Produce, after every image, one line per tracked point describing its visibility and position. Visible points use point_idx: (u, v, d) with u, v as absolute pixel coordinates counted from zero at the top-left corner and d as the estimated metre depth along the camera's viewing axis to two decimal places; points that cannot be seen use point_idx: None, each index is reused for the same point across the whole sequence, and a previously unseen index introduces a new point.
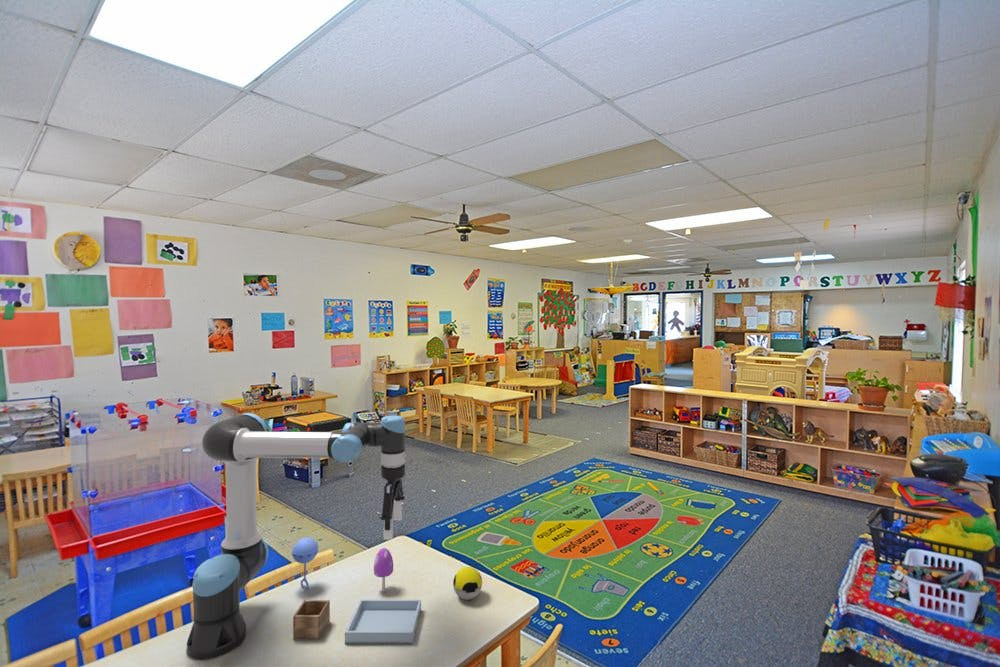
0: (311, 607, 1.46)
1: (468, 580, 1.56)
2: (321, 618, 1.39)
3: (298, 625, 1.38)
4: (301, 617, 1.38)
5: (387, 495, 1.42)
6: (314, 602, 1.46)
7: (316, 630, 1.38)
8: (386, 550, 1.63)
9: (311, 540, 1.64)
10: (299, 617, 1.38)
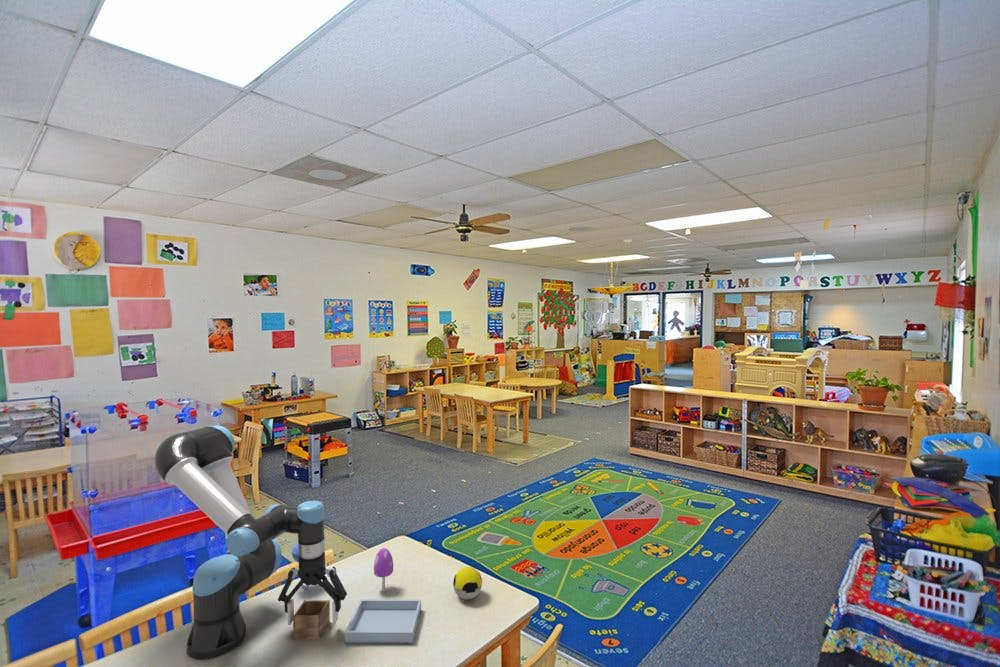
0: (311, 607, 1.46)
1: (468, 580, 1.56)
2: (321, 618, 1.39)
3: (298, 625, 1.38)
4: (301, 617, 1.38)
5: None
6: (314, 602, 1.46)
7: (316, 630, 1.38)
8: (386, 550, 1.63)
9: None
10: (299, 617, 1.38)
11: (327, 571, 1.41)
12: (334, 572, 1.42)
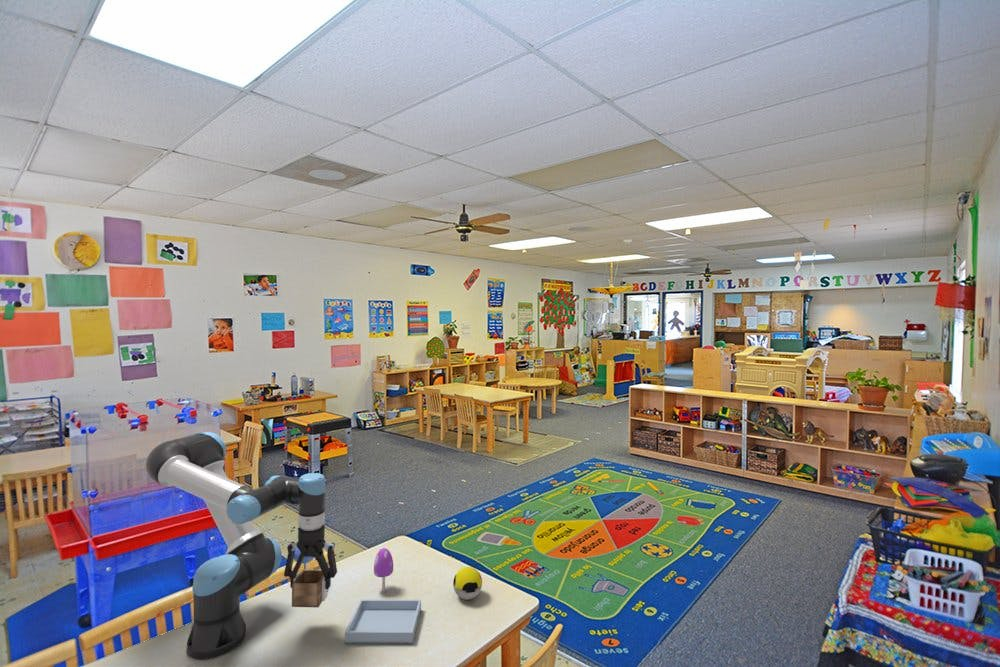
0: (310, 576, 1.46)
1: (468, 580, 1.56)
2: (320, 587, 1.39)
3: (297, 593, 1.38)
4: (300, 584, 1.38)
5: None
6: (313, 572, 1.45)
7: (314, 598, 1.38)
8: (386, 550, 1.63)
9: None
10: (298, 585, 1.38)
11: (326, 545, 1.41)
12: (332, 548, 1.42)
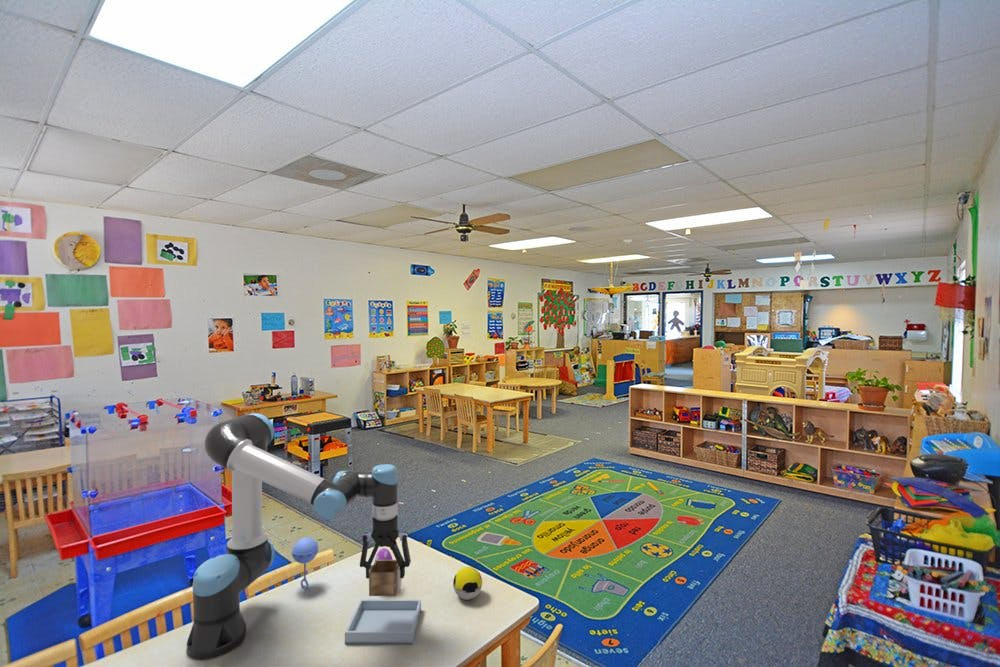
0: (383, 566, 1.47)
1: (468, 580, 1.56)
2: (396, 576, 1.41)
3: (374, 582, 1.40)
4: (377, 574, 1.40)
5: None
6: (386, 562, 1.47)
7: (391, 587, 1.40)
8: (386, 550, 1.63)
9: (311, 540, 1.64)
10: (375, 574, 1.40)
11: (400, 535, 1.43)
12: (406, 538, 1.44)
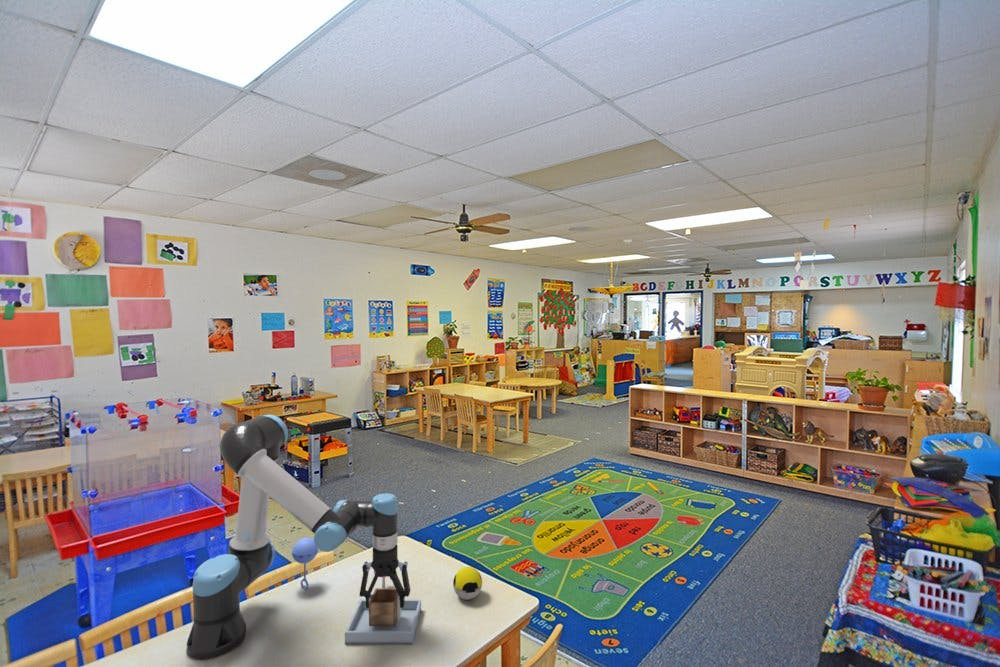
0: (383, 595, 1.48)
1: (468, 580, 1.56)
2: (396, 606, 1.41)
3: (374, 612, 1.40)
4: (377, 604, 1.40)
5: None
6: (386, 590, 1.48)
7: (391, 617, 1.41)
8: None
9: (311, 540, 1.64)
10: (375, 604, 1.40)
11: (400, 564, 1.44)
12: (406, 567, 1.44)
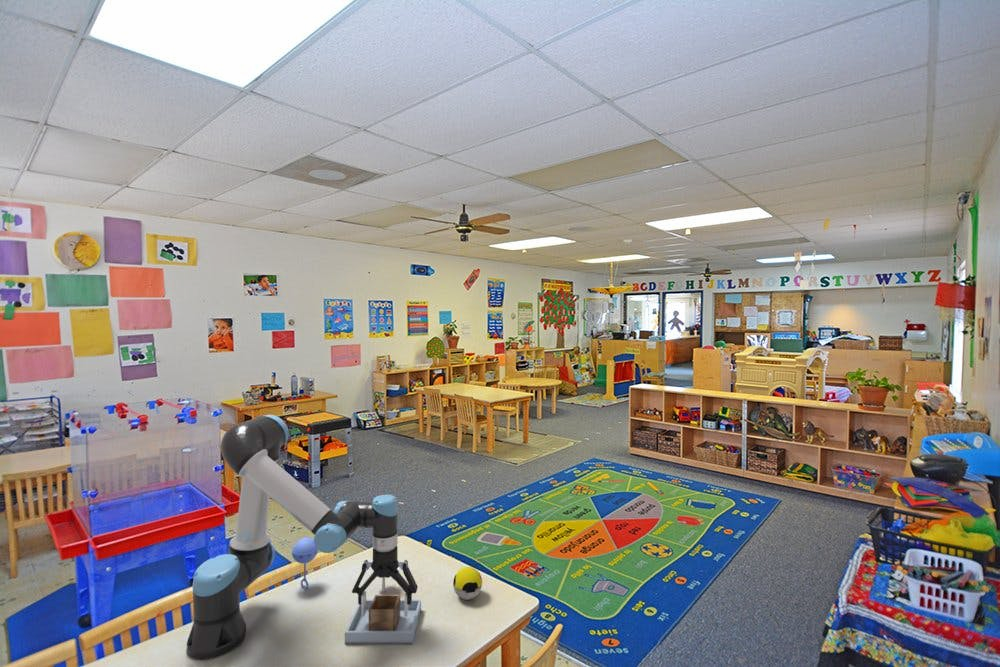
0: (382, 601, 1.48)
1: (468, 580, 1.56)
2: (395, 612, 1.42)
3: (373, 619, 1.40)
4: (376, 611, 1.40)
5: None
6: (386, 597, 1.48)
7: (390, 624, 1.41)
8: None
9: (311, 540, 1.64)
10: (374, 611, 1.40)
11: (400, 564, 1.44)
12: (407, 565, 1.44)
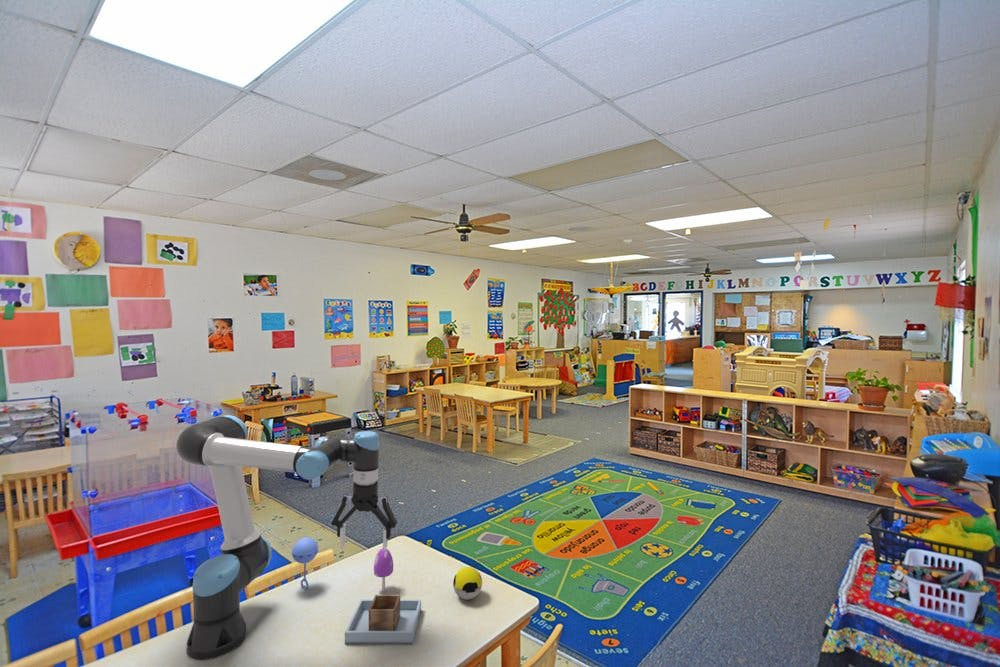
0: (382, 601, 1.48)
1: (468, 580, 1.56)
2: (395, 612, 1.42)
3: (373, 619, 1.40)
4: (376, 611, 1.40)
5: None
6: (386, 597, 1.48)
7: (390, 624, 1.41)
8: (386, 550, 1.63)
9: (311, 540, 1.64)
10: (374, 611, 1.40)
11: (380, 499, 1.46)
12: (386, 500, 1.46)
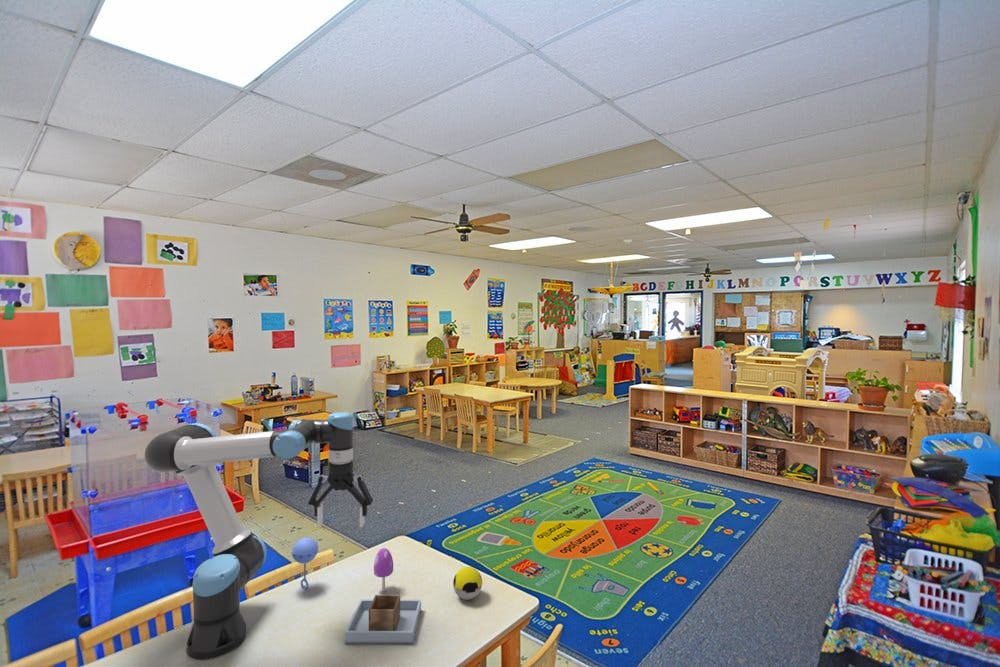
0: (382, 601, 1.48)
1: (468, 580, 1.56)
2: (395, 612, 1.42)
3: (373, 619, 1.40)
4: (376, 611, 1.40)
5: None
6: (386, 597, 1.48)
7: (390, 624, 1.41)
8: (386, 550, 1.63)
9: (311, 540, 1.64)
10: (374, 611, 1.40)
11: (355, 477, 1.50)
12: (362, 479, 1.50)
